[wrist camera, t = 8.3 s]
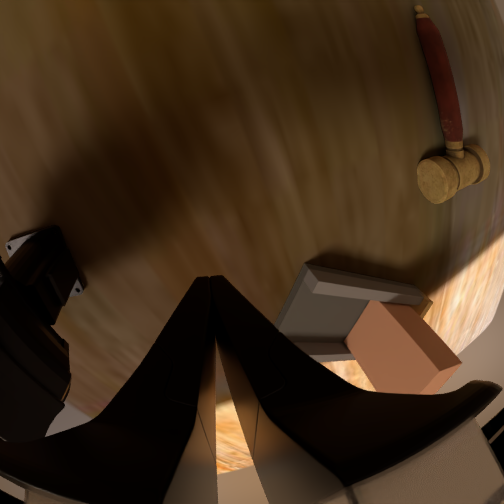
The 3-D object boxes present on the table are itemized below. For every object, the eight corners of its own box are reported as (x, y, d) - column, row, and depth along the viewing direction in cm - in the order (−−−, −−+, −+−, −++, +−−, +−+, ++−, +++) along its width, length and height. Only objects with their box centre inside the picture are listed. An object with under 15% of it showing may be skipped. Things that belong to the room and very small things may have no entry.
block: (343, 341, 30) (393, 418, 20) (373, 294, 28) (439, 371, 18) (375, 340, 33) (422, 405, 22) (402, 298, 30) (462, 362, 20)
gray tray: (265, 342, 29) (276, 370, 25) (304, 263, 25) (323, 288, 21) (377, 342, 35) (391, 361, 32) (414, 285, 31) (433, 302, 28)
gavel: (399, -8, 11) (457, 9, 12) (369, 5, 15) (429, 15, 16) (447, 210, 21) (490, 185, 21) (416, 197, 25) (463, 175, 25)
